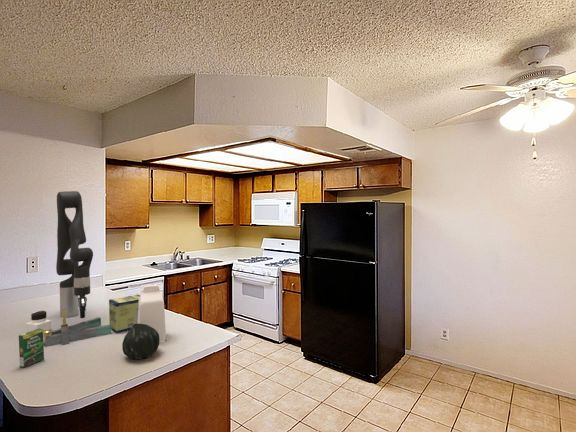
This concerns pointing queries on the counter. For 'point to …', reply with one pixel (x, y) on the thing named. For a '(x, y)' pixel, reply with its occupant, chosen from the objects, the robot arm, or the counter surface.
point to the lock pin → (64, 317)
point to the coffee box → (31, 347)
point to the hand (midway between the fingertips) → (82, 317)
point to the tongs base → (74, 334)
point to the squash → (140, 341)
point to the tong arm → (81, 326)
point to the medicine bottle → (39, 321)
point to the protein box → (123, 313)
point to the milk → (152, 310)
